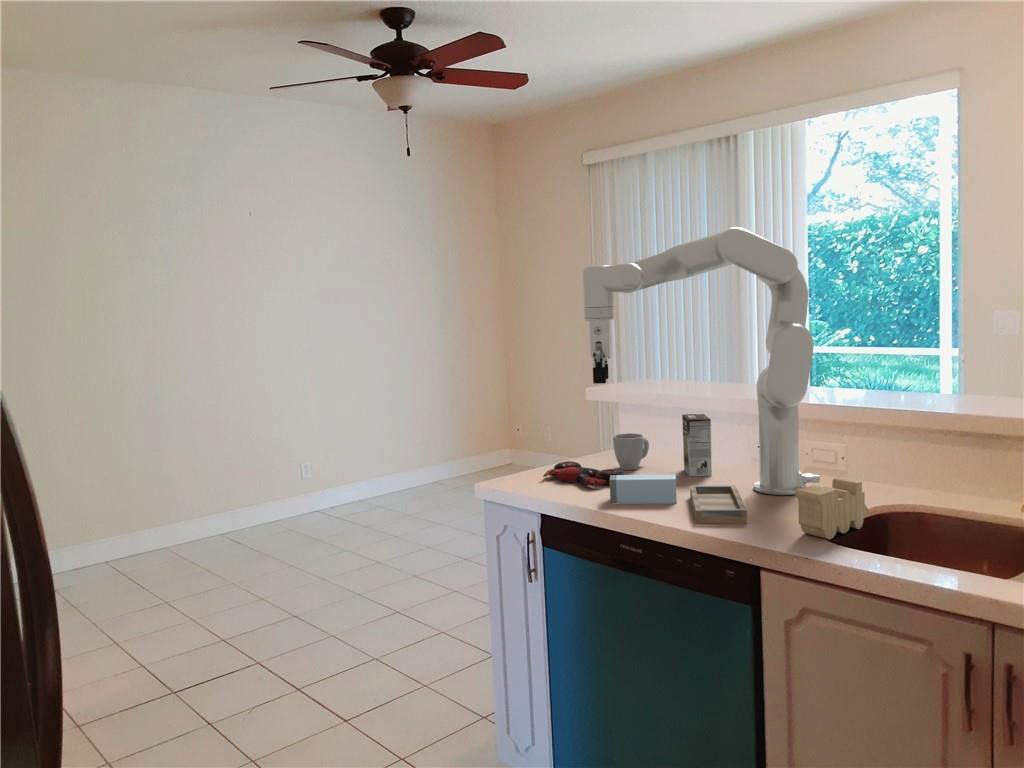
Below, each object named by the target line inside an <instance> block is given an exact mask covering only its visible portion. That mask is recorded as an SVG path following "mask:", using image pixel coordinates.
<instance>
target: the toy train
mask: <svg viewBox="0 0 1024 768" xmlns="http://www.w3.org/2000/svg"><path fill="white" fill-rule="evenodd" d="M831 483H832V487H830V486H819V485H814V484H811V485H808V486H806V487H805V488H801V489H798V490H796V492H795V494H794V495H795V497H796V499H797V500H798V523H799V525H800V528H801V532H802V533H804V534H807V535H809V536H810V535H811V536H815V537H818V538H821V539H826V540H832V539H833V538H834V537H835V536H836V534H837V533H838V534H839V533H840V534H846V533H848V532H849V530H850V528H852V529H856V530H860V529H861V528H863V524H864V518H865V517H868V516H869V514H870V511H869V509H868V507H867V505H866V501H865V500H866V499H865V492H864V491H863V481H858V480H853V479H846V478H841V477H834V478H832V482H831Z"/></svg>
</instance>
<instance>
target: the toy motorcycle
mask: <svg viewBox="0 0 1024 768" xmlns="http://www.w3.org/2000/svg"><path fill="white" fill-rule="evenodd" d="M610 475H626V474H625V473H624V472H623V471H622V470H619V469H615V468H607V469H602V470H599V469H596V468H592V467H590V468H589V467H585V466H584V467H582V466H581V464H580V463H579V462H577V461H573V460H572V461H569V460H567V461H566V460H565V461H561V462H558V463H556V464H555V466H554V467H553V468H552V469H551V468H550V469H548V470H547V471H546V472H545V473H544V474H543V476H542V478H545V477H548V476H549V477H551V478H552V477H557V479H559V480H560V481H562V482H565V483H582V484H583V485H585V486H589V487H592V486H596V485H598V486H600V485H606V486H610Z"/></svg>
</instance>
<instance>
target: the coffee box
mask: <svg viewBox="0 0 1024 768" xmlns="http://www.w3.org/2000/svg"><path fill="white" fill-rule="evenodd" d="M681 421H682V442H683V449H682V450H683V470H684V471H685V472H686V474H687V475H688V476H689V477H709V476H710V477H711V476H713V475H712V424H711V423H712V420H711V418H710V417H708V416H707V415H706V414H704V413H699V414H698V413H689V414H688V413H687V414H686V413H685V414H682V420H681Z"/></svg>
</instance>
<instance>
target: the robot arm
mask: <svg viewBox="0 0 1024 768" xmlns="http://www.w3.org/2000/svg"><path fill="white" fill-rule="evenodd" d="M731 265H735V266H737V267H738V268H741V269H743V270H745V271H747V272H749V273H751V274H753V275H755V276H756V277H757V278H758V280H760V281H761V282H763V283H764V284H766V286H767V287H768V289H769V291H770V295H771V306H770V313H769V314H770V315H769V321H768V326H767V332H766V337H765V347H766V349H767V352H768V353H769V354H770V356H769V361H768V362H769V364H768V366H767V367H765V368H764V369H762V371H761V372H760V373H759V375H758V377H757V380H756V381H757V382H756V398H757V408H758V409H757V410H758V411H757V412H758V439H759V440H758V450H759V451H758V453H759V456H758V457H759V480H758V481H755V482H754V483H753V489H754V491H756V492H758V493H761V494H766V495H772V496H773V495H776V496H790V495H792V496H793V495H795V492H796V490H798V489H801V488H805V487H807V483H809V484H810V483H812V484H820V481H821V480H820V475H817V474H812V473H802V471H801V470H800V417H799V416H800V415H799V404H800V403H801V402H802V401H803V400H804V398H805V396H806V393H807V390H808V385H809V379H810V374H811V368H812V360H813V355H814V339H813V335H812V334H811V332H810V330H809V329H808V328H807V327H806V324H807V317H808V316H807V315H808V307H809V305H808V304H809V290H808V289H809V288H808V286H807V281H806V280H805V277H804V275H803V273H802V271H801V270H800V269H799V266H798V260H797V257H796V255H795V254H794V253H793V252H792V251H791V250H790V249H788V248H786V247H784V246H781V245H779V244H777V243H775V242H773V241H771V240H768V239H767V238H764V237H762V236H760V235H758V234H755V233H754V232H751V231H750V230H747V229H745V228H743V227H740V226H739V227H738V226H733V227H730V228H727V229H725V230H722V231H719V232H716V233H713V234H709V235H707V236H703V237H700V238H697V239H693V240H690V241H687V242H683V243H680V244H677V245H674V246H672V247H670V248H668V249H667V250H665V251H662V252H660V253H658V254H654V255H652V256H648V257H646V258H643V259H640V260H635V261H633V262H624V263H620V264H619V263H618V264H614V265H608V264H600V265H599V264H596V265H595V264H594V265H588V266H586V267H584V269H583V271H582V283H583V284H582V285H583V307H584V308H583V317H584V321H586V322H587V321H589V322H588V327H589V330H588V331H589V334H588V335H589V347H590V348H589V349H590V358H591V359H592V360H593V367H592V382H593V384H606V382H607V380H608V379H609V363H608V360H610V359H611V358H612V356H613V349H612V347H613V346H612V329H611V327H612V326H611V321H612V320H615V307H614V301H615V300H614V293H624V294H632V293H635V292H638V291H641V290H644V289H648V288H651V287H655V286H658V285H660V284H665V283H668V282H669V283H670V282H674V281H681V280H684V279H689V278H692V277H694V276H697V275H701V274H705V273H708V272H711V271H714V270H718V269H722V268H724V267H728V266H731Z"/></svg>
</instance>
